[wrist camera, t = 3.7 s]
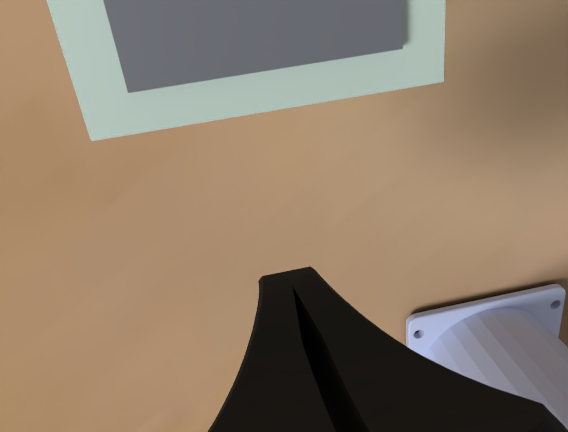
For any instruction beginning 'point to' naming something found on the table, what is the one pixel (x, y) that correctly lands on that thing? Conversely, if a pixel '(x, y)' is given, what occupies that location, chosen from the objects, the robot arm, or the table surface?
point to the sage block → (239, 56)
